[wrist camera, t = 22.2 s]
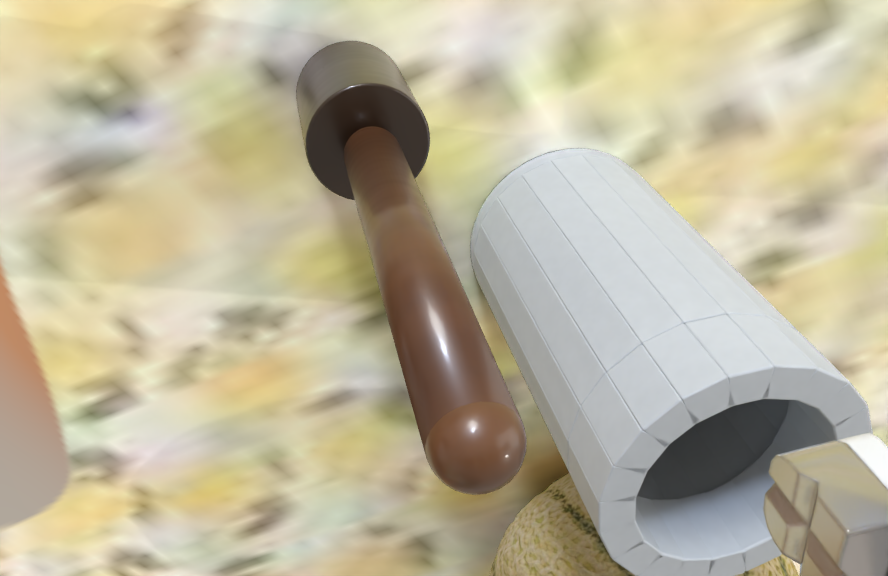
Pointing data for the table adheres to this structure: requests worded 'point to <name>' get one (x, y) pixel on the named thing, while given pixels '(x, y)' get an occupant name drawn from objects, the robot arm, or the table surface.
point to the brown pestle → (410, 262)
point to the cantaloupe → (572, 541)
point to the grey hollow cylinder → (651, 363)
